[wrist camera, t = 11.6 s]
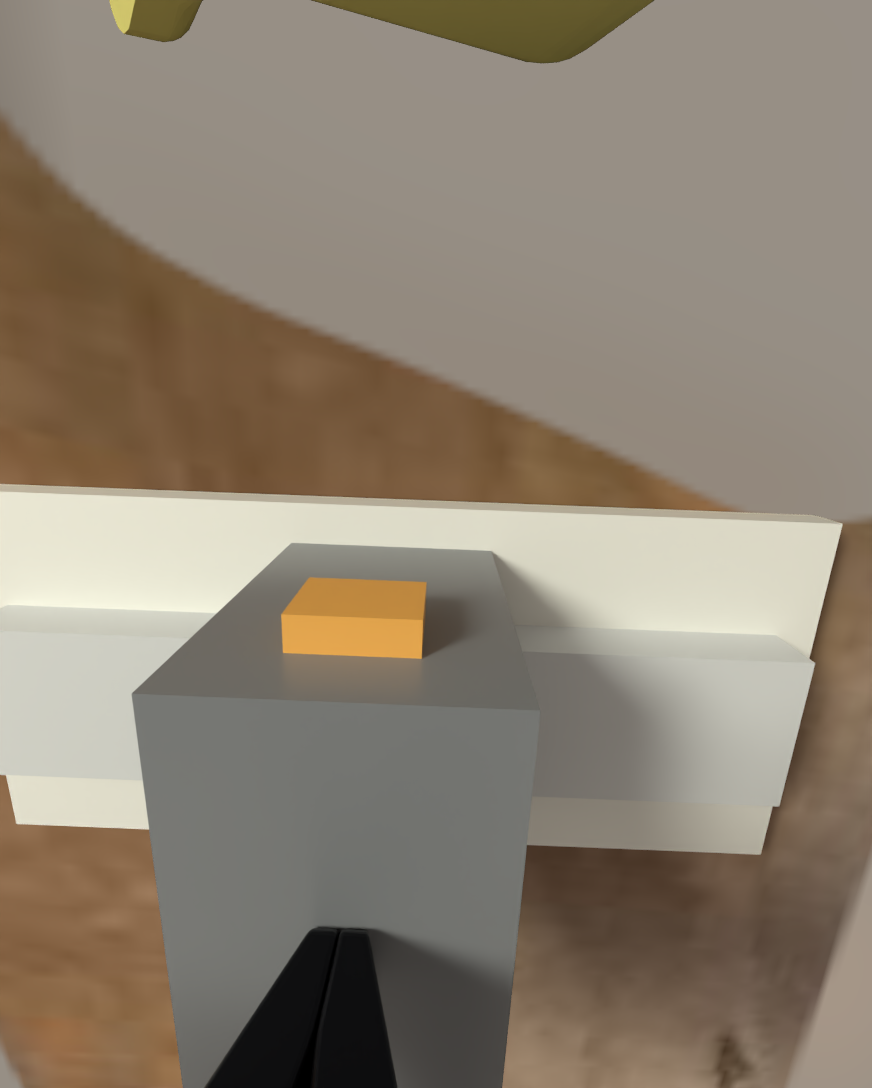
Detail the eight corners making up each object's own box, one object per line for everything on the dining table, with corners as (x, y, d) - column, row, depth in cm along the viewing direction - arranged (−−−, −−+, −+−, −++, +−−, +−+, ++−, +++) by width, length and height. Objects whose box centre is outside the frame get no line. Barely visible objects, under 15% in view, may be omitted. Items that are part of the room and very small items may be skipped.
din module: (473, 815, 15) (496, 1143, 9) (301, 808, 15) (188, 1130, 9) (492, 527, 13) (545, 666, 6) (290, 519, 13) (124, 649, 6)
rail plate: (742, 827, 16) (793, 901, 14) (41, 799, 17) (-28, 867, 14) (814, 515, 14) (893, 539, 11) (-21, 483, 14) (-118, 500, 12)
